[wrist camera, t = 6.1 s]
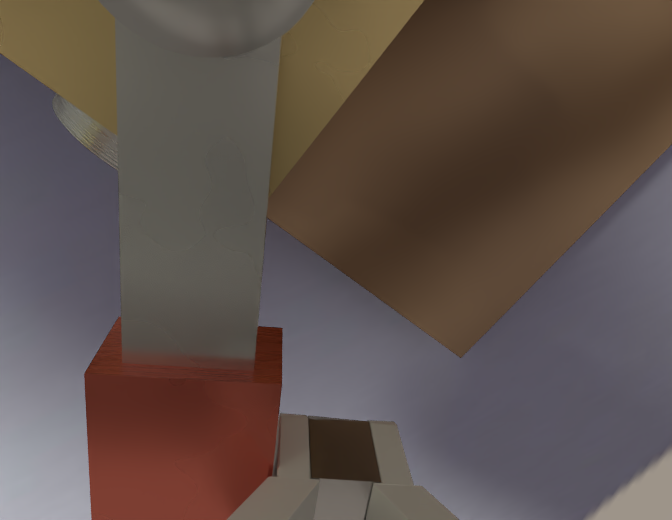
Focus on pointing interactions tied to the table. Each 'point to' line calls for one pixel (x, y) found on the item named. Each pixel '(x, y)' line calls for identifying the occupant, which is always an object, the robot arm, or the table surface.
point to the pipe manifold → (293, 80)
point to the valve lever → (189, 263)
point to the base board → (483, 152)
